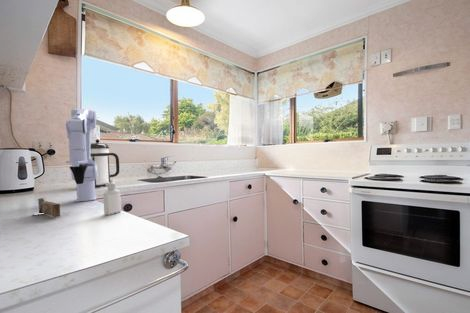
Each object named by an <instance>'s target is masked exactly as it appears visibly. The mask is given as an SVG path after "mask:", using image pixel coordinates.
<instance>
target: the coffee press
mask: <svg viewBox="0 0 470 313" xmlns="http://www.w3.org/2000/svg"><path fill="white" fill-rule="evenodd" d="M109 149H110V147H109V145H108V144H107V143H102V142H100V140H99V139H98V138H97V139H95V143H91V148H90V159H91V160H93V161H95V162H96V164H97V170H98V177H97V178H96V179H95V180H94V181H95V189H96V188H97V186H101V185H108V183H110V180H111V178H114V177H116V176H117V177H118V175H119V174H120V158H119V156H118V154H116V153H114V152H109ZM110 156H113V157H114V158H115V173H113V174H111V173H110V172H111V171H110V168H111V167H110Z"/></svg>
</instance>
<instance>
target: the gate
mask: <svg viewBox="0 0 470 313" xmlns="http://www.w3.org/2000/svg"><path fill="white" fill-rule="evenodd" d="M41 204H42V213H44V214H46V215H48V216H51V217H53V218H57V217H58V218H59V217H61V205H60V204H59V203H56V202H53V201H48V200H45V201H43V202H41Z"/></svg>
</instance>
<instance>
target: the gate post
mask: <svg viewBox="0 0 470 313" xmlns="http://www.w3.org/2000/svg"><path fill="white" fill-rule="evenodd" d="M37 201H38V212H39V213H42V204H41V202H43V201H46V197H41V198H38V199H37Z"/></svg>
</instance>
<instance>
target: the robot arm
mask: <svg viewBox="0 0 470 313" xmlns="http://www.w3.org/2000/svg"><path fill="white" fill-rule="evenodd" d="M70 115H71V118H70V119H68V120H66V122H65V130H66V134H67V138H68V152H69V160H67V161H66V162H65V163H66V164H72V165H71V166H69V170H70V171H71V172H70V173H71V174H70V175H71V179H72V180H73V181H74V182H75V184H76V186H75V187H76V199H75V201H74V202H75V203H77V202H88V201H96V199H97V198H98V195H96V188H95V181H94V180H95V179H96V178H97V177H98V170H97V164H96V162H95V161H93V160H91V159H90V148H91V144H92V143H91V138H92V136H91V134H92V130H93V129H95V128H96V126H97V112H96V109H95V108H74V107H73V108H72V109H71V111H70Z"/></svg>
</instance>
